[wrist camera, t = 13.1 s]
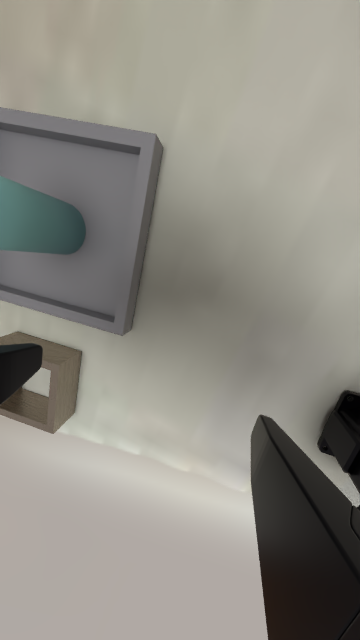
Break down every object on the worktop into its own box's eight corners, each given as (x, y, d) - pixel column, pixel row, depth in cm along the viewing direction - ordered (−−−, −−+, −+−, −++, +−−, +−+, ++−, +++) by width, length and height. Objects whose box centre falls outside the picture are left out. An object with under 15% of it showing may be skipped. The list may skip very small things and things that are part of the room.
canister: (94, 225, 20) (-69, 172, 9) (69, 264, 22) (-102, 263, 10) (56, 190, 20) (-158, 93, 9) (33, 232, 22) (-180, 195, 10)
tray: (163, 147, 18) (156, 134, 17) (130, 329, 23) (122, 335, 21) (-6, 117, 20) (-30, 102, 19) (-6, 290, 25) (-25, 292, 23)
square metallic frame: (81, 351, 25) (59, 365, 21) (74, 412, 27) (53, 434, 23) (17, 331, 26) (-14, 341, 22) (15, 392, 28) (-14, 409, 24)
